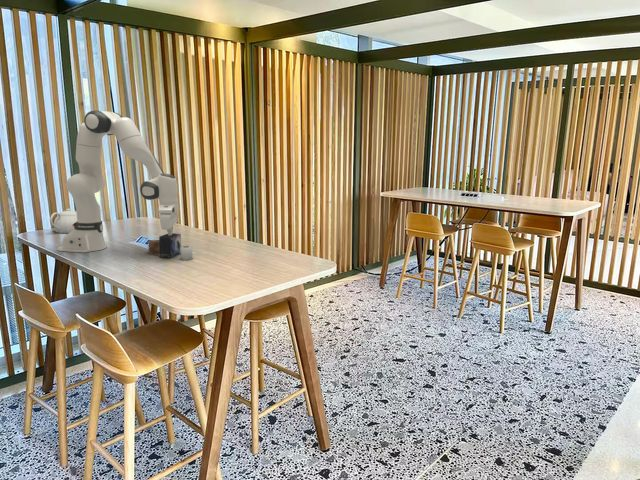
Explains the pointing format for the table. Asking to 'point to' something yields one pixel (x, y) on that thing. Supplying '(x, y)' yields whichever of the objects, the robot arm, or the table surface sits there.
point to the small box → (169, 245)
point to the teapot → (64, 221)
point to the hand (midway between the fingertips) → (170, 235)
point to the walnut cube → (153, 246)
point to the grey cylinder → (186, 252)
